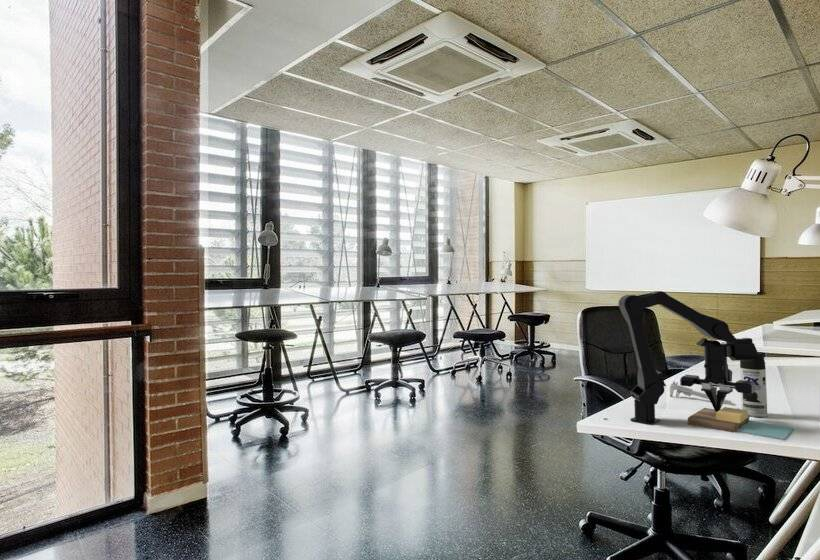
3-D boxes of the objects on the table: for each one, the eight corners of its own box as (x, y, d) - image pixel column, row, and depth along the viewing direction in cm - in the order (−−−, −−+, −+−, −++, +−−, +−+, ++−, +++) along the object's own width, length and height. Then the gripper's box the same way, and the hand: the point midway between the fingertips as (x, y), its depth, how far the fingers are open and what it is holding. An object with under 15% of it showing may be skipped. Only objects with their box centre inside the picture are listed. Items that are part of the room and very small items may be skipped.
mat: (784, 440, 126) (784, 438, 126) (737, 432, 134) (737, 430, 134) (794, 429, 136) (794, 427, 136) (750, 421, 144) (750, 420, 144)
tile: (740, 423, 136) (739, 416, 136) (716, 419, 140) (715, 412, 140) (748, 417, 142) (748, 410, 142) (725, 413, 146) (724, 407, 146)
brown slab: (734, 432, 134) (734, 425, 134) (687, 424, 143) (687, 417, 143) (749, 420, 145) (748, 414, 145) (704, 413, 154) (704, 407, 154)
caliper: (669, 397, 178) (669, 380, 178) (670, 397, 179) (670, 380, 179) (734, 406, 164) (734, 388, 164) (735, 405, 165) (734, 387, 165)
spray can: (739, 415, 151) (737, 352, 152) (744, 411, 156) (742, 350, 156) (765, 419, 146) (763, 354, 147) (769, 414, 151) (767, 351, 152)
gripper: (759, 360, 143) (761, 412, 143) (690, 355, 157) (692, 402, 156) (750, 365, 135) (752, 419, 135) (678, 359, 149) (680, 408, 149)
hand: (717, 412), depth 144 cm, fingers closed
